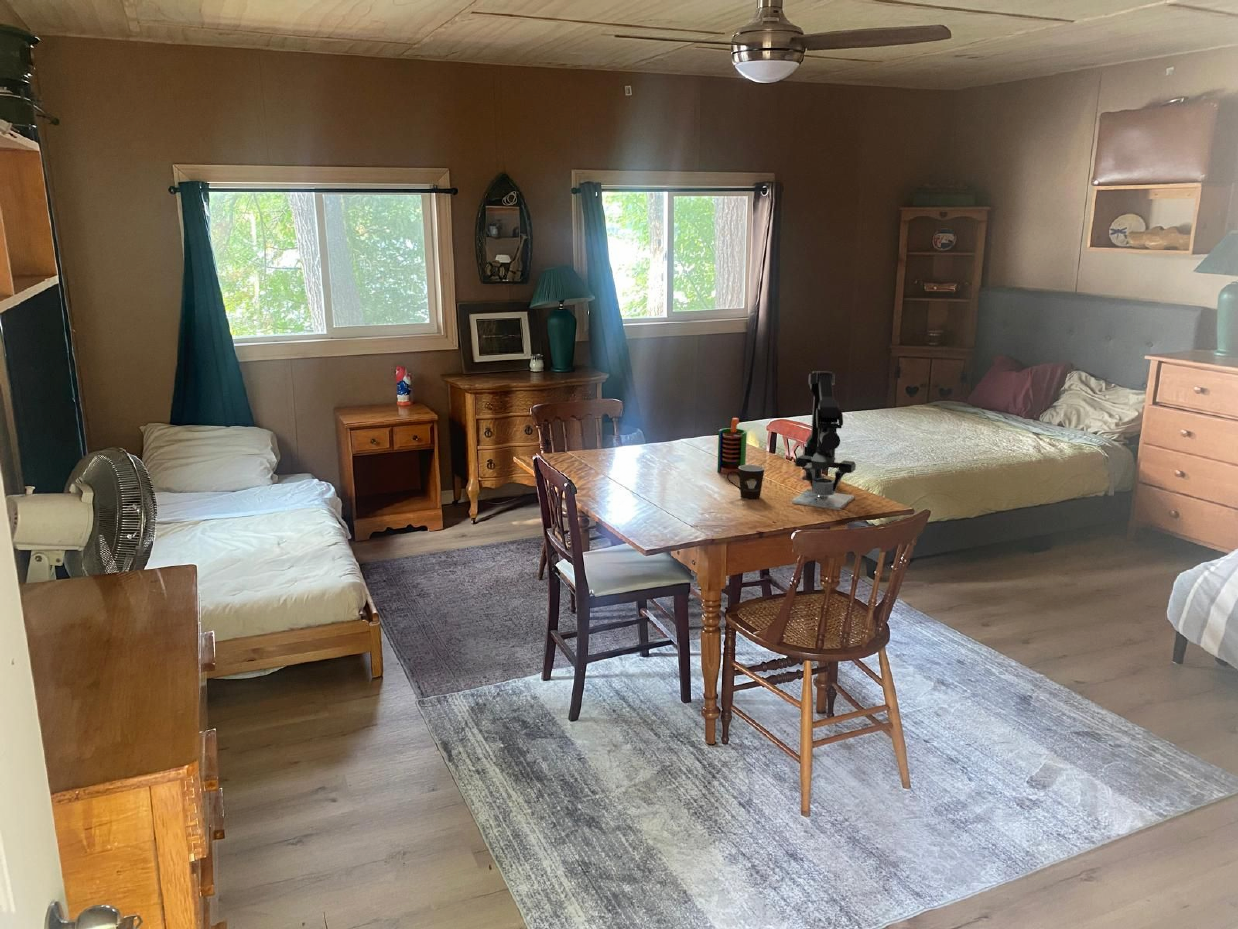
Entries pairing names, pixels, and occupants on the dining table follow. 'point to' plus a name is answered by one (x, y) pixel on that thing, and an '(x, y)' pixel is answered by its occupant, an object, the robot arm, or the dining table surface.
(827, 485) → the octagonal hollow lampshade
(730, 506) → the dining table surface
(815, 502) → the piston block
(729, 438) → the motor
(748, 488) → the coffee mug
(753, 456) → the dining table surface
